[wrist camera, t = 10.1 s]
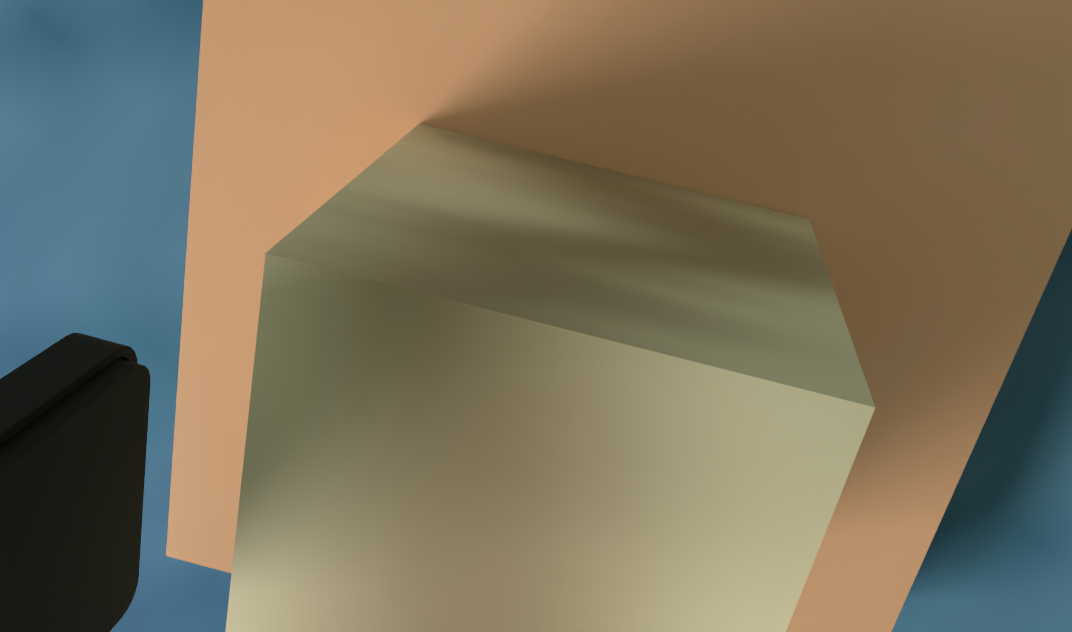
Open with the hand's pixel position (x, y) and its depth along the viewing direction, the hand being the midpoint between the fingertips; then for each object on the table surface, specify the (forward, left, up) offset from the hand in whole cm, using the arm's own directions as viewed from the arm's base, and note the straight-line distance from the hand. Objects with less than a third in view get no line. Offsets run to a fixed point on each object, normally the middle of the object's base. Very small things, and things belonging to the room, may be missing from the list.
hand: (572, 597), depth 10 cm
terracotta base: (+1, 0, -10) cm, 10 cm away
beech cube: (+1, 0, -6) cm, 6 cm away
